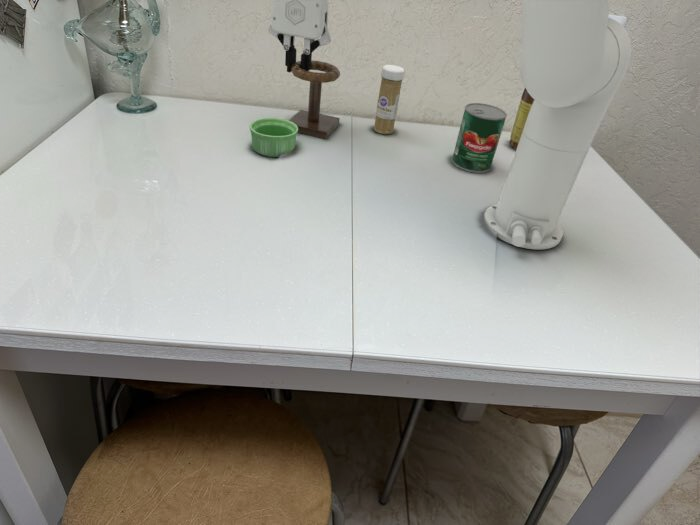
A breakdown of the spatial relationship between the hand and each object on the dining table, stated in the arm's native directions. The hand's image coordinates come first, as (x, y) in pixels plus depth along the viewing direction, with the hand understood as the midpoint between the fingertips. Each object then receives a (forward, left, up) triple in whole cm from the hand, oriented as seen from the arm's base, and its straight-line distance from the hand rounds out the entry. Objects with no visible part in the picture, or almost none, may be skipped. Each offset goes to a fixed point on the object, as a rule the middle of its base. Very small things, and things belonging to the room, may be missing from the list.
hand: (297, 71), depth 99 cm
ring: (0, -4, +1) cm, 4 cm away
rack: (0, -4, -11) cm, 12 cm away
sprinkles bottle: (+6, -18, -11) cm, 22 cm away
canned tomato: (-1, -38, -11) cm, 40 cm away
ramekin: (-14, -1, -11) cm, 18 cm away
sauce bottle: (+14, -48, -11) cm, 51 cm away
